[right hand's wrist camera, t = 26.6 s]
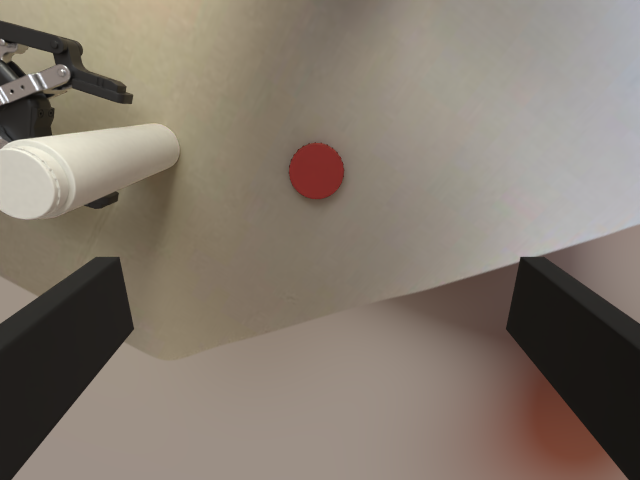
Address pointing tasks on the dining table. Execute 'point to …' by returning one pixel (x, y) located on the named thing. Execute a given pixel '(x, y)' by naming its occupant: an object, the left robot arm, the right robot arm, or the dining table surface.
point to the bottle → (80, 167)
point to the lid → (316, 171)
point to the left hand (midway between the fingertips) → (120, 151)
